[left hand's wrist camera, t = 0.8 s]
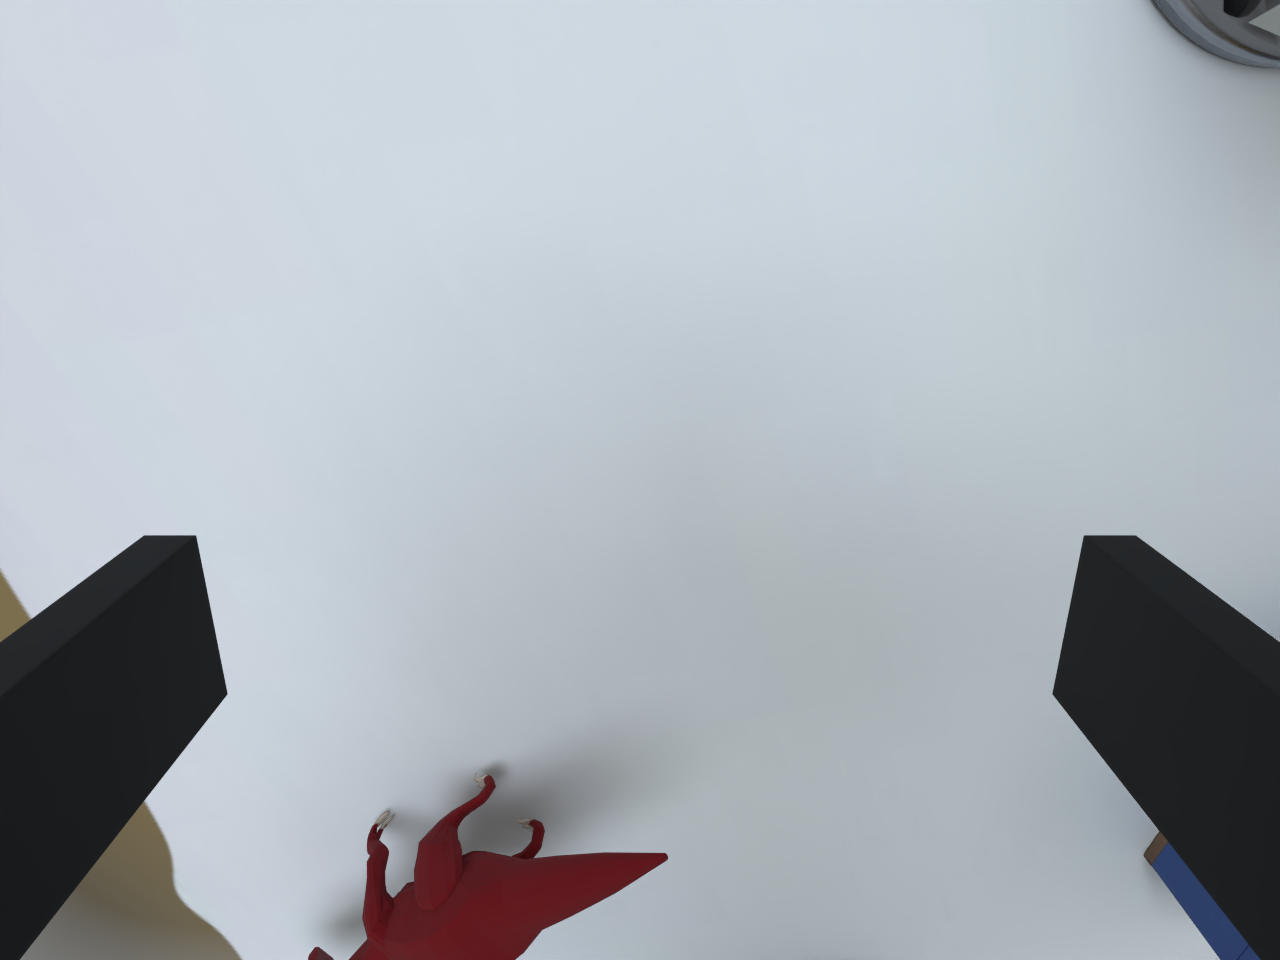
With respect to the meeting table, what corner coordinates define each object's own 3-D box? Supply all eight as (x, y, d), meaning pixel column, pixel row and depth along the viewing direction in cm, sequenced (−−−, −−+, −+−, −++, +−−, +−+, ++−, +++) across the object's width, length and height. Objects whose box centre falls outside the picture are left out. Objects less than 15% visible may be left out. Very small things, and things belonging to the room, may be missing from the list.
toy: (390, 757, 53) (200, 1000, 44) (634, 752, 34) (390, 1177, 25) (470, 829, 55) (305, 1076, 46) (743, 862, 36) (554, 1292, 27)
